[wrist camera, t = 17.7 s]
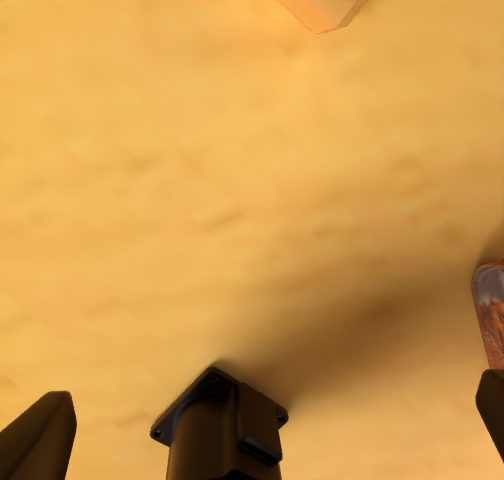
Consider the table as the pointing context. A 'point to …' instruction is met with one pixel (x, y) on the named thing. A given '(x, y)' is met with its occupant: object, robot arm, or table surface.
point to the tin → (491, 309)
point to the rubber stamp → (324, 13)
